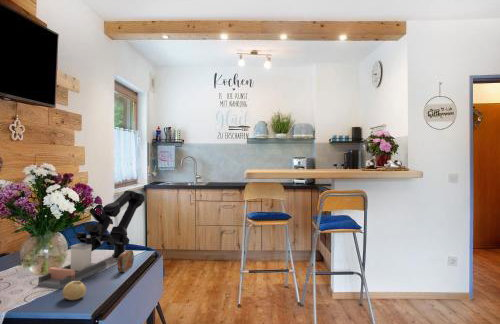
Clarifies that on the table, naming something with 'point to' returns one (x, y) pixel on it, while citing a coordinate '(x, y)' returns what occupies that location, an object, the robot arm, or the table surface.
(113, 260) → the table surface
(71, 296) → the onion
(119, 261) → the tin
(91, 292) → the table surface
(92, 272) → the cable rail
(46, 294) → the table surface
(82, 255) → the pale grey box
